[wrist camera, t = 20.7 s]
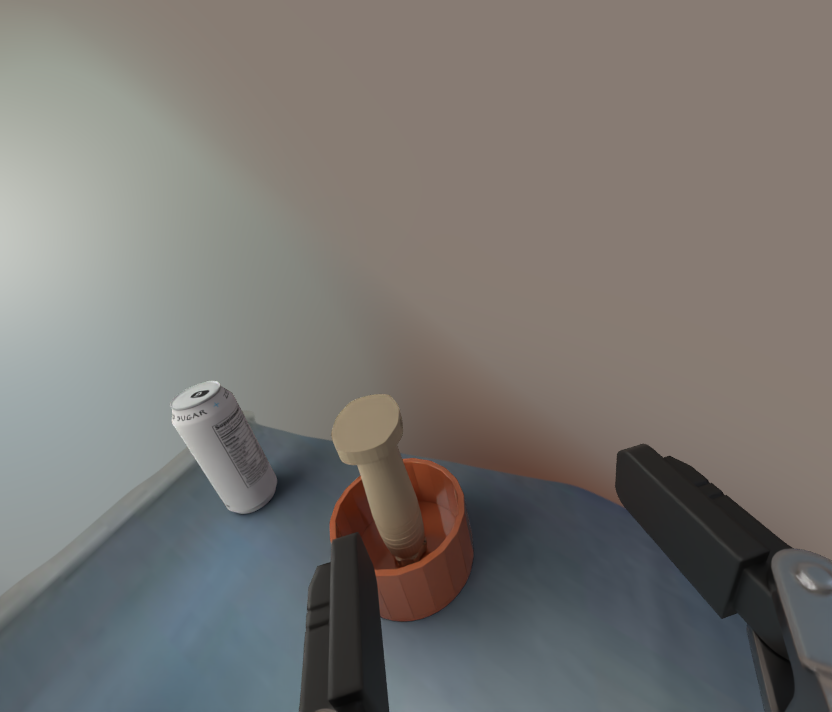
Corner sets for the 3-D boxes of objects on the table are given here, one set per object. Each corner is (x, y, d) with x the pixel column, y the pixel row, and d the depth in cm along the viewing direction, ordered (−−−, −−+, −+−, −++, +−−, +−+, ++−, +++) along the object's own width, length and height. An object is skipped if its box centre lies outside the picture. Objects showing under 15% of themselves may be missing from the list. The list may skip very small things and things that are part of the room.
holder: (429, 483, 40) (418, 441, 38) (501, 561, 31) (493, 514, 28) (333, 544, 36) (313, 502, 33) (384, 656, 27) (361, 611, 24)
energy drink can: (246, 478, 47) (190, 380, 40) (288, 475, 46) (237, 374, 39) (218, 518, 42) (148, 414, 35) (265, 517, 41) (201, 409, 34)
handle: (434, 517, 36) (400, 389, 29) (438, 584, 30) (396, 445, 23) (386, 524, 36) (341, 400, 29) (381, 591, 30) (323, 457, 24)
